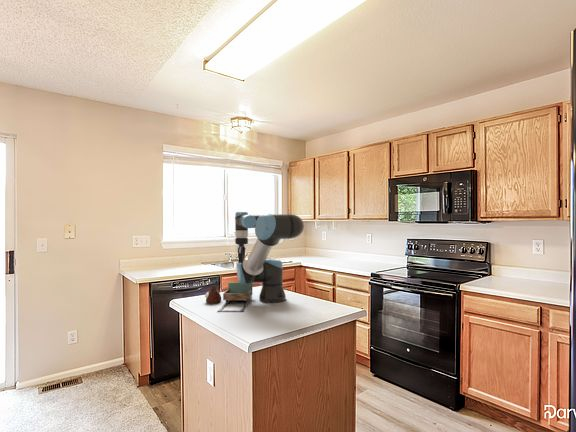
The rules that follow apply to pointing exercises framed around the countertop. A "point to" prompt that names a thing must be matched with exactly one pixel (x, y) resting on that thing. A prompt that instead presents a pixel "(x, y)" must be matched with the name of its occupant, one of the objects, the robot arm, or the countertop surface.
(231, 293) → the shallow wooden tray
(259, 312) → the countertop surface
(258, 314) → the countertop surface
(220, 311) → the track
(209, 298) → the poop emoji
